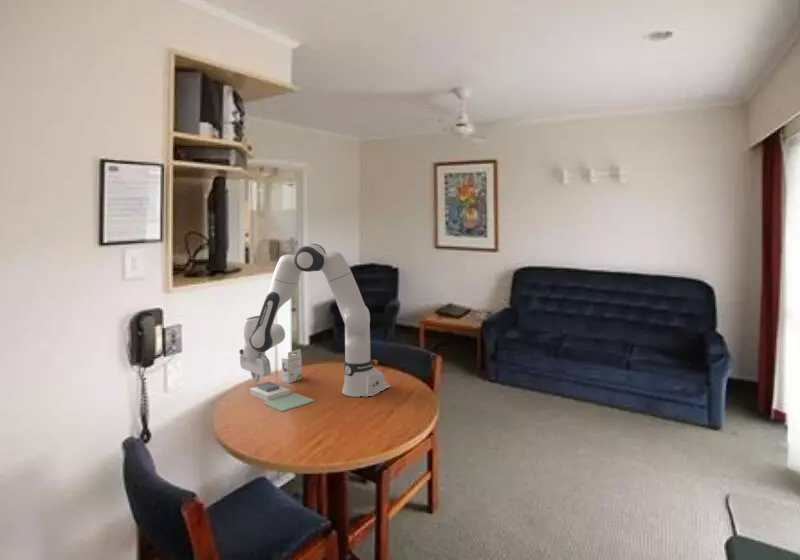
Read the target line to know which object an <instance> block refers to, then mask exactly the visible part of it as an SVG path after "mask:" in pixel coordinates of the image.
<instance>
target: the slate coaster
mask: <svg viewBox="0 0 800 560" xmlns="http://www.w3.org/2000/svg"><path fill="white" fill-rule="evenodd" d="M279 386H280V385H279V384H276V383H274V382H271V381H265V382H263V383H258V384H257V385H256V387H257V388H258V389H261V390H263V391H266V392H270V391H273V390H277V389H279Z"/></svg>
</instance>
